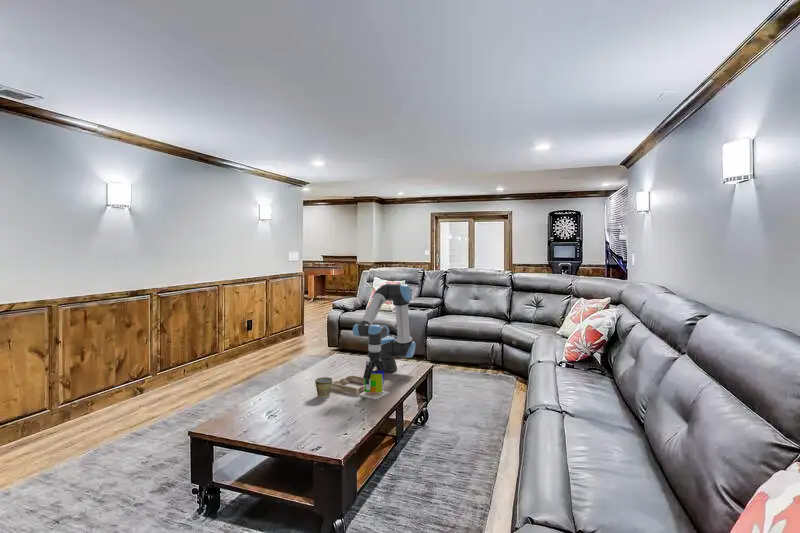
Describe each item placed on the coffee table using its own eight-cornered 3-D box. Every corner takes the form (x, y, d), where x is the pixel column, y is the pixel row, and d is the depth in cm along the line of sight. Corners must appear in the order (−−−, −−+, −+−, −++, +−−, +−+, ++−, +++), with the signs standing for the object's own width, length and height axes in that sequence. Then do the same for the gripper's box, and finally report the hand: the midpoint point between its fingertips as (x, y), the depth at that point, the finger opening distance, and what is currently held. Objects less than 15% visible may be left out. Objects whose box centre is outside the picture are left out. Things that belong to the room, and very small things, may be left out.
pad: (371, 389, 267) (371, 388, 267) (389, 393, 261) (389, 391, 261) (359, 395, 256) (359, 394, 256) (377, 399, 249) (377, 398, 249)
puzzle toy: (383, 387, 263) (384, 370, 262) (381, 392, 253) (381, 375, 252) (367, 386, 264) (367, 370, 263) (364, 391, 254) (364, 374, 254)
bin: (350, 381, 285) (350, 375, 285) (377, 386, 275) (377, 380, 275) (330, 389, 267) (330, 383, 267) (357, 395, 257) (357, 388, 256)
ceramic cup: (328, 399, 249) (328, 382, 248) (312, 398, 251) (312, 381, 250) (336, 392, 261) (336, 376, 261) (320, 391, 263) (320, 375, 263)
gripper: (380, 346, 270) (380, 380, 271) (357, 354, 249) (357, 391, 250) (390, 347, 266) (390, 382, 267) (368, 355, 245) (367, 393, 246)
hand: (374, 386), depth 258 cm, fingers closed on puzzle toy, 12 cm apart
